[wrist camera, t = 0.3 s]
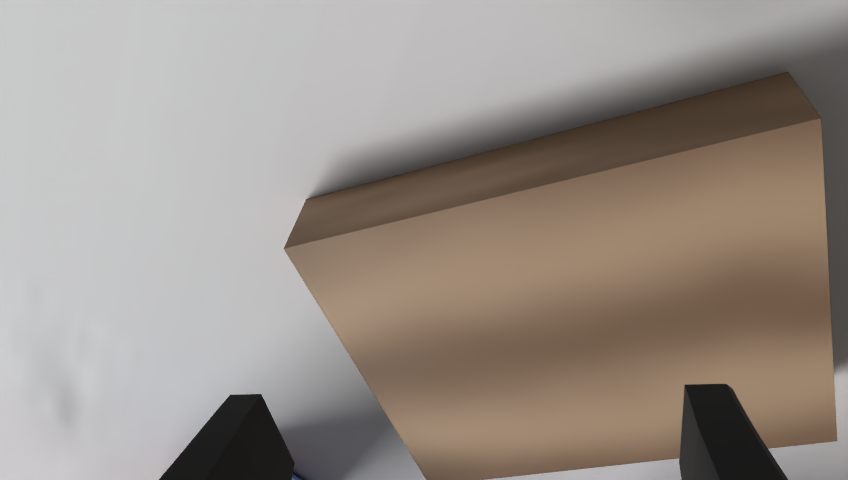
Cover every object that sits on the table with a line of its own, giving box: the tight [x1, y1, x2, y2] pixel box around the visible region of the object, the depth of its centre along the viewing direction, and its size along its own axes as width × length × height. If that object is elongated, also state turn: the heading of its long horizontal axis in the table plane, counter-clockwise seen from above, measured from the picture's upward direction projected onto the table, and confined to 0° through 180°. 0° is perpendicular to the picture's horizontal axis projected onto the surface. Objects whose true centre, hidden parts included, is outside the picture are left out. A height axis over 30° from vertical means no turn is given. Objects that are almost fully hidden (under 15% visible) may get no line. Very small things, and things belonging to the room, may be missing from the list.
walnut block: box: [284, 72, 837, 480], centre depth 22 cm, size 12×14×3 cm
